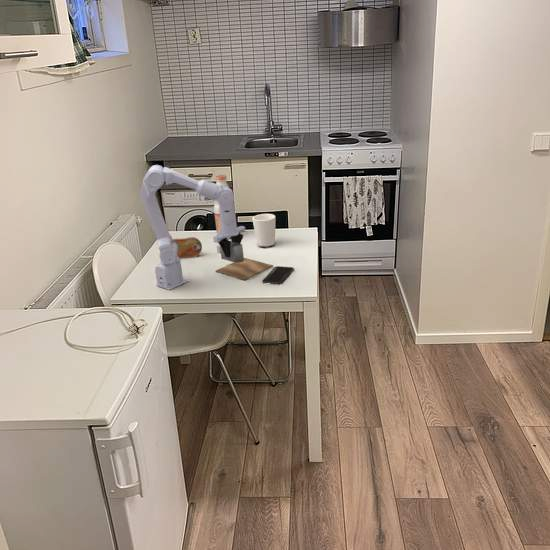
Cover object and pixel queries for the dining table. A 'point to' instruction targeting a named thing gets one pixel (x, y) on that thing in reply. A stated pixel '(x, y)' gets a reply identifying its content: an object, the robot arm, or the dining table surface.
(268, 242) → the cup
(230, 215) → the robot arm
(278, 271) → the phone
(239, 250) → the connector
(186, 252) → the tin
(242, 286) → the dining table surface
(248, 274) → the board
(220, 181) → the fruit juice
